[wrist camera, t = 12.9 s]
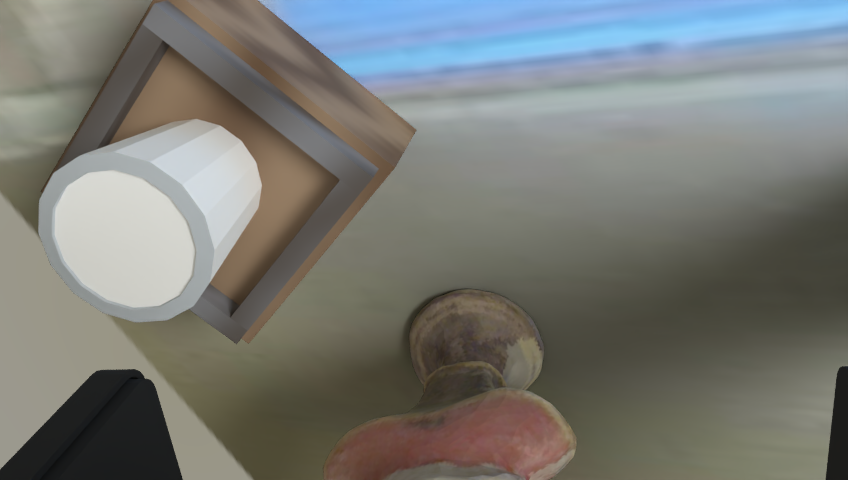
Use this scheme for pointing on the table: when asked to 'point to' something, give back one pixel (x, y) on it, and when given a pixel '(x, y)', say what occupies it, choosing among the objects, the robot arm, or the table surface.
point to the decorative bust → (465, 403)
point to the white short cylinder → (149, 218)
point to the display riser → (253, 137)
